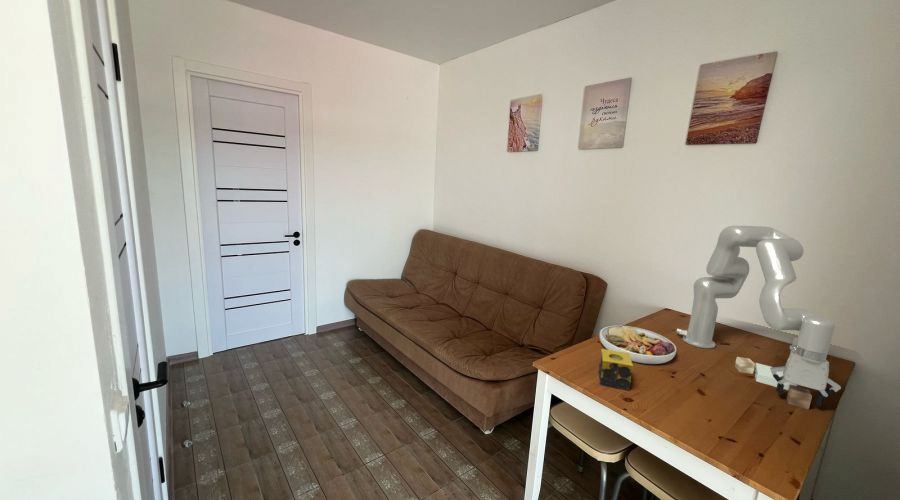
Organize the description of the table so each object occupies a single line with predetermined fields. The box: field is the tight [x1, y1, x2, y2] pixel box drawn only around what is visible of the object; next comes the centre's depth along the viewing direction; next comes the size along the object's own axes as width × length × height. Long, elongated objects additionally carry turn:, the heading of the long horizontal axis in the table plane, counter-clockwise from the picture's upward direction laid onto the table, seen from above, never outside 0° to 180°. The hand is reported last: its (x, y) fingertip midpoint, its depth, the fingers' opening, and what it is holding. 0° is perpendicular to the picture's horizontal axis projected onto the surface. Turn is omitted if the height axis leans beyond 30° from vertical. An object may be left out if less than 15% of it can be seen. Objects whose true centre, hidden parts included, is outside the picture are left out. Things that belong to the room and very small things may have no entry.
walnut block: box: [786, 385, 813, 411], centre depth 123 cm, size 5×5×5 cm
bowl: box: [599, 325, 677, 365], centre depth 158 cm, size 30×30×8 cm
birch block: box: [734, 356, 756, 375], centre depth 144 cm, size 4×4×4 cm
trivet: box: [753, 362, 798, 391], centre depth 137 cm, size 11×11×3 cm
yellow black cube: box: [598, 348, 634, 391], centre depth 132 cm, size 10×10×10 cm
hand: (798, 398), depth 123 cm, fingers open, 9 cm apart
